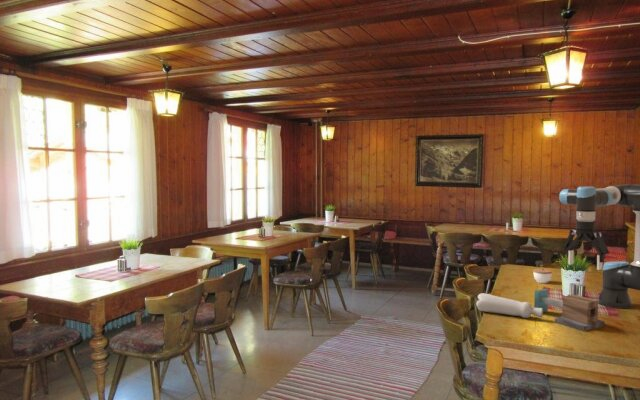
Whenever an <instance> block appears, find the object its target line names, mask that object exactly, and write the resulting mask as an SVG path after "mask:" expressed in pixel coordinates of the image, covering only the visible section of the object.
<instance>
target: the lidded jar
mask: <svg viewBox="0 0 640 400" xmlns="http://www.w3.org/2000/svg"><path fill="white" fill-rule="evenodd" d="M532 271H533V272H532V273H533V274H532V275H533V278H534V280H535V282H537V283H539V284H547V283H549V282H550V281H551V278H552V272H553V271H552V270H550V269H546V268H544V267H541V268H534V269H533V270H532Z"/></svg>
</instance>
